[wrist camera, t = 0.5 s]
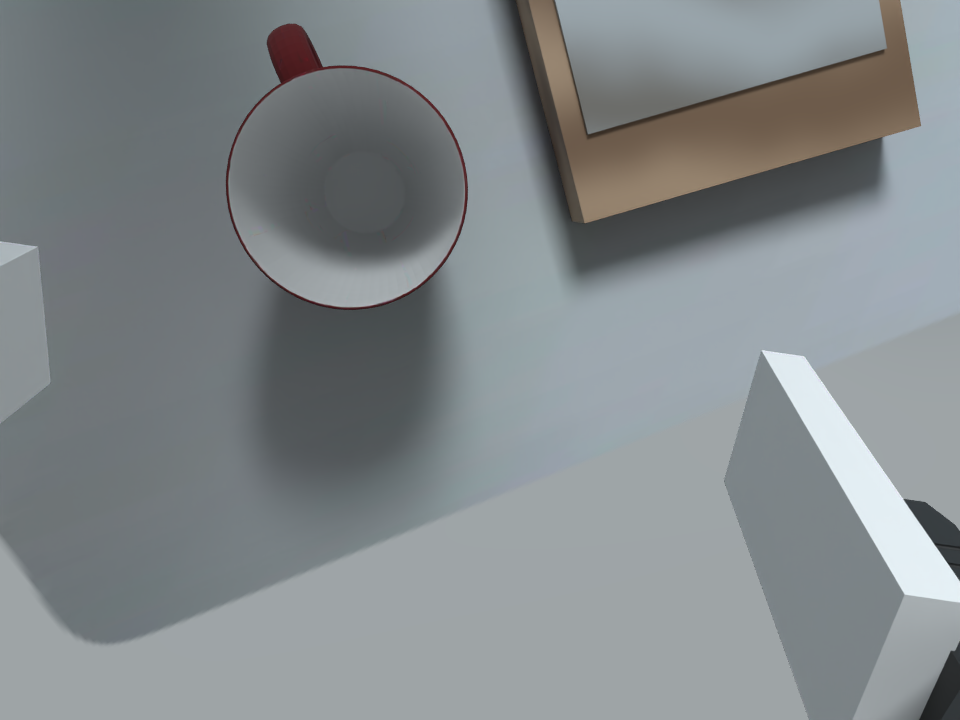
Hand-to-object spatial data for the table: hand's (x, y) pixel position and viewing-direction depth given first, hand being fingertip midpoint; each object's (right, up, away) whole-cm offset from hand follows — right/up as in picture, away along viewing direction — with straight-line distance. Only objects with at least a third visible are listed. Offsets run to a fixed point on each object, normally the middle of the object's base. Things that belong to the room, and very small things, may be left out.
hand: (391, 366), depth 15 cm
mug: (-4, +9, +22) cm, 24 cm away
